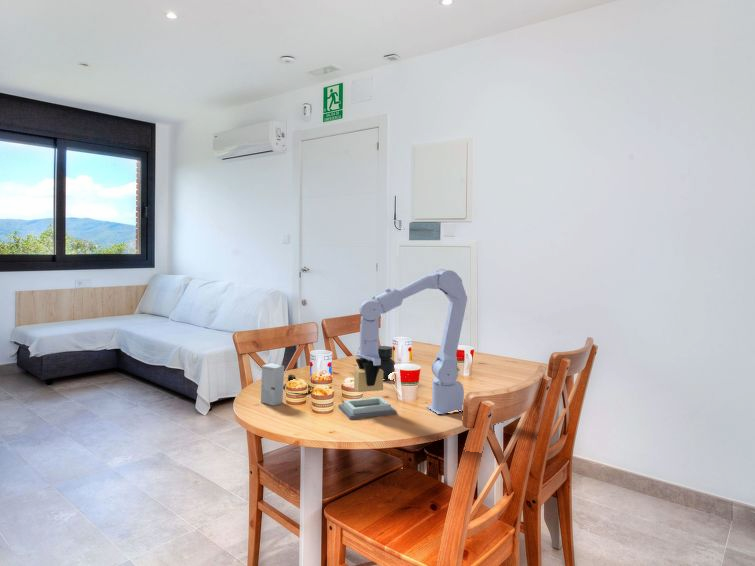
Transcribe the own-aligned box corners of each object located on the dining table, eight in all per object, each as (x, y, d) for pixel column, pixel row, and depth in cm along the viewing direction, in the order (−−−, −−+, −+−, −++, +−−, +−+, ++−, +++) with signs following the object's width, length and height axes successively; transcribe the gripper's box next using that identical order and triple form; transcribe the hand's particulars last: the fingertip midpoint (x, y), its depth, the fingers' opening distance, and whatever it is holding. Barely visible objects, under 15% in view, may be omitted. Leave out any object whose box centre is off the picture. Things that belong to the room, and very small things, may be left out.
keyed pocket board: (382, 403, 155) (382, 395, 155) (396, 413, 145) (396, 405, 145) (338, 407, 149) (338, 399, 149) (349, 419, 139) (350, 411, 139)
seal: (319, 396, 166) (298, 385, 177) (321, 382, 166) (300, 372, 177) (295, 397, 160) (275, 386, 172) (297, 383, 160) (277, 373, 172)
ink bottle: (399, 377, 187) (400, 347, 186) (386, 382, 180) (387, 351, 179) (379, 373, 193) (380, 344, 192) (366, 377, 186) (366, 347, 185)
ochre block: (354, 388, 147) (354, 369, 147) (378, 386, 150) (378, 367, 150) (358, 392, 143) (358, 372, 143) (382, 390, 146) (383, 370, 146)
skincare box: (260, 402, 152) (260, 365, 152) (269, 399, 156) (270, 362, 156) (274, 406, 149) (275, 368, 149) (284, 402, 153) (284, 365, 152)
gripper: (349, 336, 151) (348, 378, 152) (365, 344, 137) (364, 391, 138) (369, 335, 154) (368, 376, 154) (387, 343, 140) (386, 389, 141)
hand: (368, 383), depth 147 cm, fingers closed on ochre block, 4 cm apart
